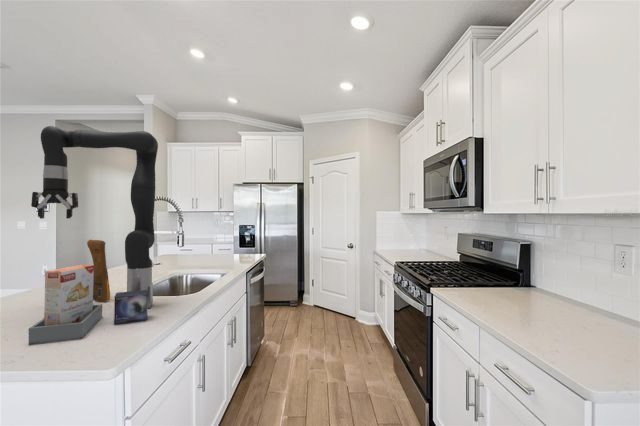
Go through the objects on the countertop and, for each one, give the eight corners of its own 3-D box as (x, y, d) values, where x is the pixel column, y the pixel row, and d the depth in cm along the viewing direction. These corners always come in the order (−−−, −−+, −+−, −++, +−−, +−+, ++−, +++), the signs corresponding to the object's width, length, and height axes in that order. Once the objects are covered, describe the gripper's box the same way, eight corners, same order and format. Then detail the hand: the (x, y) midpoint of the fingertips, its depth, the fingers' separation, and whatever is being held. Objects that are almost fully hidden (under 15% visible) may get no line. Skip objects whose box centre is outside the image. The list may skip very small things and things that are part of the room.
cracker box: (60, 335, 100) (61, 271, 100) (42, 335, 100) (43, 271, 100) (94, 320, 114) (94, 264, 114) (78, 320, 114) (79, 263, 114)
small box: (113, 325, 111) (113, 296, 111) (115, 320, 116) (115, 292, 116) (146, 321, 116) (147, 293, 116) (147, 315, 121) (147, 289, 121)
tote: (102, 317, 119) (102, 304, 119) (82, 338, 99) (82, 323, 99) (58, 321, 114) (58, 308, 114) (28, 344, 94) (28, 328, 94)
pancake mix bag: (96, 305, 135) (96, 241, 135) (85, 296, 147) (86, 238, 148) (113, 301, 140) (114, 240, 140) (102, 294, 153) (103, 237, 153)
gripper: (80, 179, 129) (80, 218, 129) (37, 178, 124) (37, 218, 124) (74, 177, 122) (73, 218, 122) (28, 176, 117) (27, 218, 117)
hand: (55, 218), depth 123 cm, fingers open, 8 cm apart
